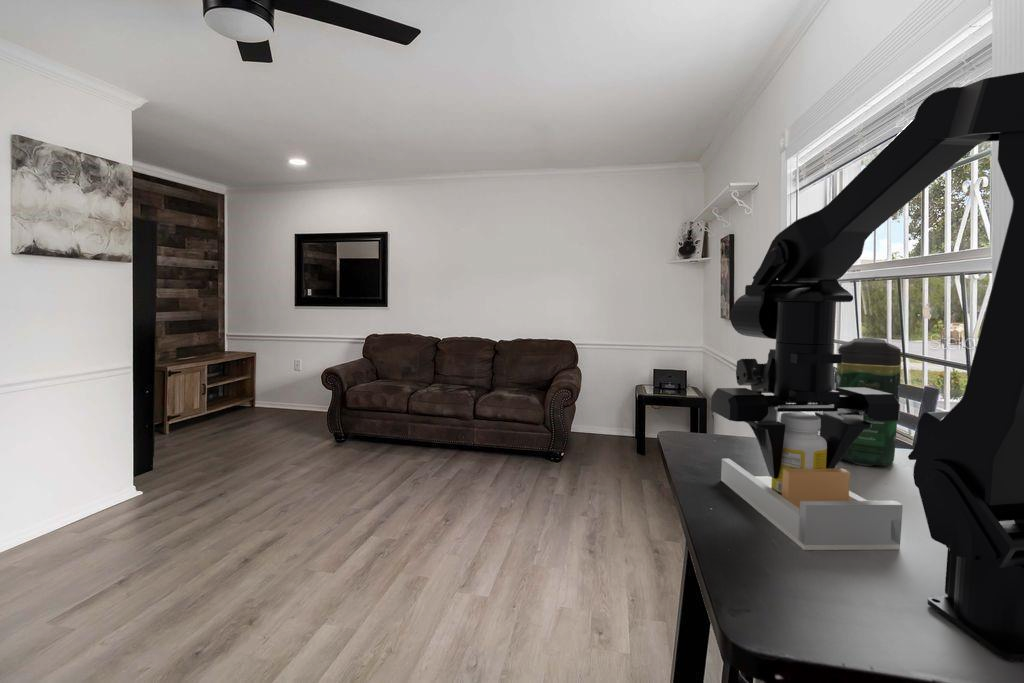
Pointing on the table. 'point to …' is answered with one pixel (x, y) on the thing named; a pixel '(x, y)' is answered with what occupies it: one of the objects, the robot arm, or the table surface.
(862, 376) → the coffee jar
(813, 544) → the lane
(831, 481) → the pusher
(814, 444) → the supplement bottle
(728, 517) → the table surface
